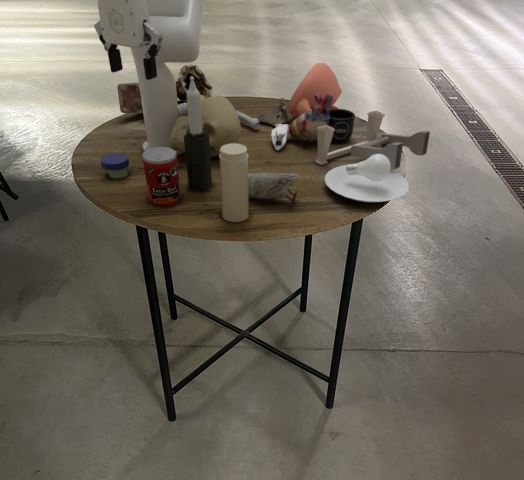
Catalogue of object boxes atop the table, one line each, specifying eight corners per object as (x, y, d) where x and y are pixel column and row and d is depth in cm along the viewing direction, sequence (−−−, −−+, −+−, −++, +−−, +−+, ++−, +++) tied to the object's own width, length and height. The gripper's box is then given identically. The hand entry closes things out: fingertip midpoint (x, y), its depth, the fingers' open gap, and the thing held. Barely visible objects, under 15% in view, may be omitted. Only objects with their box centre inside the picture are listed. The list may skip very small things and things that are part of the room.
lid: (96, 165, 123) (94, 158, 121) (118, 156, 126) (116, 150, 125) (113, 173, 120) (111, 166, 118) (135, 164, 123) (133, 157, 122)
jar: (222, 208, 113) (219, 142, 102) (248, 208, 113) (248, 142, 103) (221, 222, 109) (218, 154, 98) (249, 222, 109) (248, 154, 98)
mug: (354, 144, 141) (358, 119, 136) (324, 144, 141) (327, 119, 136) (346, 129, 150) (349, 104, 145) (317, 129, 149) (319, 105, 144)
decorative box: (169, 125, 165) (182, 128, 158) (112, 122, 154) (123, 124, 147) (169, 82, 159) (182, 82, 152) (109, 75, 148) (121, 75, 141)
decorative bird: (235, 190, 120) (234, 161, 114) (298, 198, 117) (301, 169, 112) (229, 201, 116) (228, 171, 111) (294, 209, 114) (297, 179, 108)
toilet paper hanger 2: (350, 139, 126) (348, 162, 130) (397, 145, 120) (394, 169, 123) (386, 126, 141) (383, 148, 144) (430, 131, 134) (426, 153, 137)
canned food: (151, 208, 113) (143, 162, 105) (147, 193, 118) (140, 148, 110) (183, 204, 114) (178, 159, 106) (178, 189, 120) (173, 145, 112)
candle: (213, 183, 122) (207, 74, 105) (206, 192, 119) (198, 81, 101) (194, 180, 123) (185, 72, 106) (187, 189, 120) (176, 78, 102)
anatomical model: (311, 131, 147) (330, 83, 135) (323, 150, 143) (344, 101, 131) (283, 130, 143) (301, 80, 131) (295, 149, 139) (314, 99, 127)
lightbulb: (341, 160, 117) (386, 157, 112) (349, 152, 121) (392, 149, 116) (343, 186, 121) (387, 184, 116) (351, 177, 125) (393, 175, 120)
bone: (228, 111, 158) (218, 115, 157) (227, 95, 154) (217, 99, 153) (261, 135, 150) (252, 139, 149) (261, 119, 146) (251, 123, 144)
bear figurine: (196, 54, 161) (171, 70, 168) (176, 72, 152) (150, 88, 159) (218, 94, 168) (193, 107, 175) (200, 113, 160) (175, 126, 167)
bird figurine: (267, 124, 134) (274, 124, 143) (268, 151, 137) (275, 148, 146) (285, 124, 133) (290, 123, 142) (285, 150, 136) (291, 148, 145)
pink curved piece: (271, 125, 149) (305, 153, 151) (297, 81, 135) (334, 113, 137) (303, 89, 162) (334, 116, 164) (330, 46, 148) (363, 75, 150)
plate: (346, 215, 111) (348, 206, 110) (310, 177, 125) (311, 169, 124) (423, 203, 117) (425, 194, 115) (380, 168, 131) (382, 160, 129)
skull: (168, 121, 120) (247, 118, 123) (162, 87, 129) (236, 85, 133) (172, 169, 131) (245, 165, 134) (167, 135, 140) (234, 132, 144)
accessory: (305, 130, 147) (305, 134, 148) (285, 137, 143) (285, 141, 143) (327, 137, 143) (327, 141, 143) (307, 145, 138) (307, 148, 139)
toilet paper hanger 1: (311, 161, 133) (320, 166, 131) (315, 127, 126) (325, 132, 124) (369, 142, 143) (378, 147, 141) (376, 110, 136) (385, 114, 134)
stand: (111, 170, 127) (107, 155, 124) (129, 170, 127) (126, 155, 124) (107, 178, 123) (104, 163, 120) (126, 178, 123) (123, 163, 121)
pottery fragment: (259, 127, 164) (252, 112, 162) (289, 110, 162) (282, 94, 159) (261, 139, 150) (253, 123, 147) (294, 121, 148) (286, 104, 145)
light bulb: (180, 117, 159) (208, 109, 159) (181, 125, 154) (211, 116, 154) (173, 97, 154) (203, 88, 154) (175, 104, 150) (205, 95, 150)
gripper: (72, -26, 93) (92, 72, 105) (141, -18, 87) (154, 85, 99) (99, -30, 98) (115, 64, 110) (166, -23, 92) (176, 76, 104)
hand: (134, 74), depth 105 cm, fingers open, 9 cm apart
